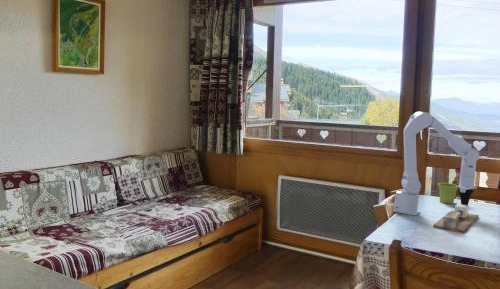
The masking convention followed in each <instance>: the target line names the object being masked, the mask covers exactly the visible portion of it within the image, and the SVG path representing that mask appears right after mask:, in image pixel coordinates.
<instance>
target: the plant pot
mask: <svg viewBox="0 0 500 289" xmlns="http://www.w3.org/2000/svg"><path fill="white" fill-rule="evenodd" d="M437 185H438V188H439V202H441V203H442V204H446V205H447V204H449V205H450V204H454V201H455V198H456V194H457V192H458V190H459V189H458V188H460V187H459V184H458V185H457V184H455V183H449V182H438V183H437Z"/></svg>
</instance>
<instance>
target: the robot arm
mask: <svg viewBox="0 0 500 289" xmlns="http://www.w3.org/2000/svg"><path fill="white" fill-rule="evenodd" d="M426 128H430V129H434V131H436V132H437V133H439V134H440V135H441V136H442V137H443V138H444V139H446V140H447V145H448V146H449V147H450V148H451V149H453V150H454V152H456V153H457V154H458V155H459V156H460V158H461V164H460V173H459V184H458V186H459V187H458V188H459V189H457V193H458V195H459V198H460V204H461V205H467V206H469V203H470V201H471V200H470V199H471V197H472V195H473V193H474V192H475V190H474V189H478V186H476V185H475V178H476V168H477V161H478V160H479V159H480V153H479V151H478V150H477V149H476V148H474V147H472V146H473V145H472V144H471V143H469V142H467V141H466V140H464V137H463V135H459V134H453V133H452V132H451V131H450V130H449V129H448V128H447V127H446V126H445V125H444V124H443V123H442V122H440V120H438V119H437V118H436V117H435V116H432V115H431V113H429V112H425V111H421V110H420V111H416V112H414V113H413V114H412V115H410V117H409V119H408V121H407V123H406V125H405V127H404V128H403V160H404V166H403V167H404V170H403V174H402V178H401V181H400V184H401V187H402V189H401V190H397V191H396V193H395V195H394V205H393V211H392V212H395V213H399V214H405V215H411V216H416V215H419V214H420V213H421V210H418V207H419V197H420V191H421V188H422V184H421V182H420V178H419V174H418V166H417V162H418V160H417V134H419V133H420V132H421V131H422V130H424V129H426Z"/></svg>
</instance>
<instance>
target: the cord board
mask: <svg viewBox="0 0 500 289" xmlns="http://www.w3.org/2000/svg"><path fill="white" fill-rule="evenodd" d="M462 213H463V211H458V212H457V213H456V214H455V215H454V210H450V211H449V212H448V213H446V214H444V216H443V217H441V218H440V219H439V220H438V221H437V222H435V223H433V227H432V228H435V229H439V230H445V231H450V232H453V233H455V232H456V233H460V234H465V232H466V231H467V230H468V229H469V228H470V227H471V226H472V225H473V224H474V223H475V222H476V221H477V220H478V219H479V214H472V213H469V212H468V216H467V217H466V218H463V217H459V216H460V215H461V214H462Z"/></svg>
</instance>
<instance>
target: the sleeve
mask: <svg viewBox="0 0 500 289" xmlns="http://www.w3.org/2000/svg"><path fill="white" fill-rule="evenodd" d="M469 207H470V206H469V205H468V206H467V205H461V203H456V205H455V206H454V210H453V211H454V215H455V214H456V213H457V212H458V211H463V213H462V214H461V215H460V216H459V217H463V218H466V217H467V216H468V213H469Z"/></svg>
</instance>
